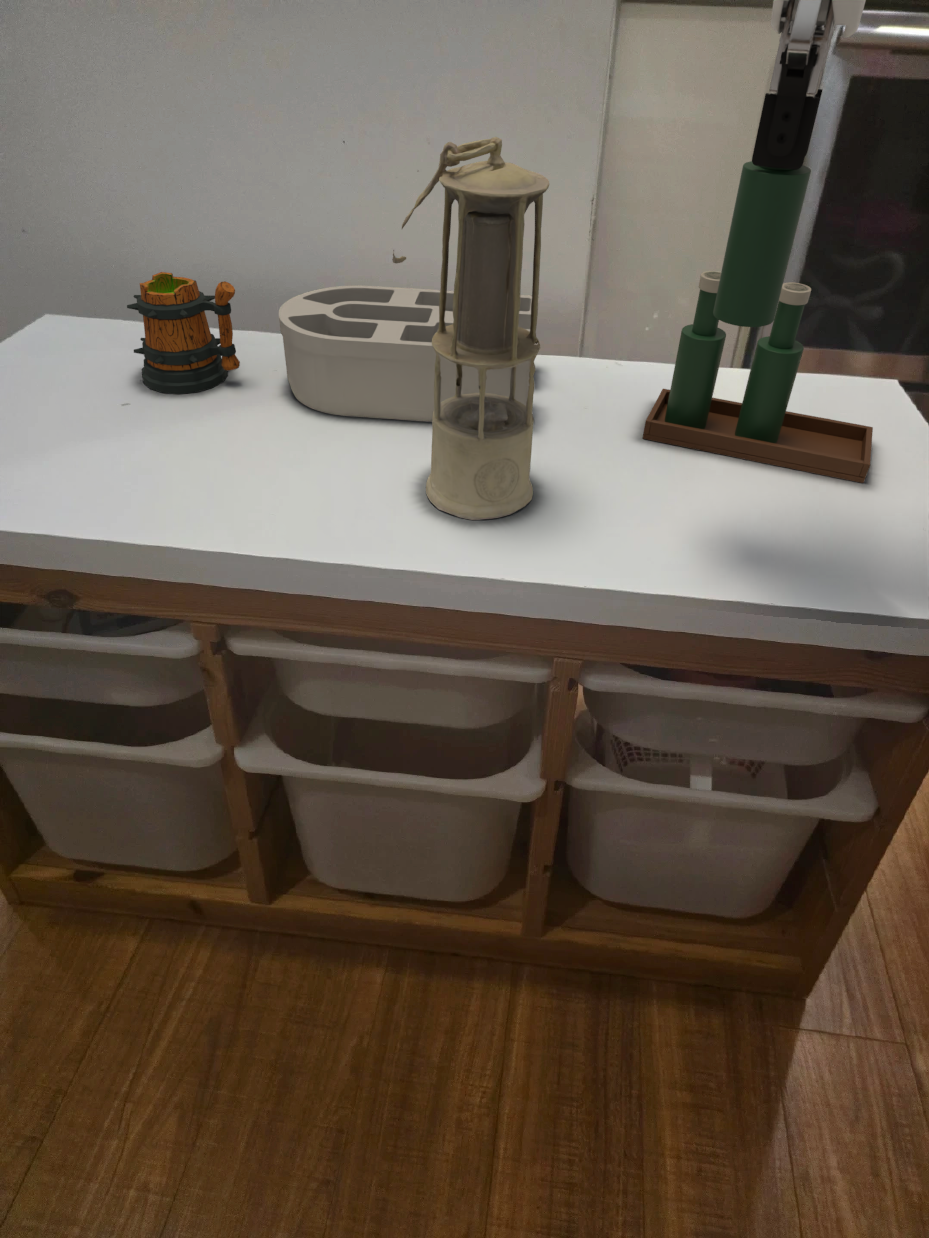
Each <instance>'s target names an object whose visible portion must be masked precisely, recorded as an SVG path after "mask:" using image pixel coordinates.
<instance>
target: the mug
mask: <svg viewBox="0 0 929 1238" xmlns="http://www.w3.org/2000/svg"><path fill="white" fill-rule="evenodd" d="M151 277H152V278H151V279H150V280H147V281H145V282H139V289H140V291H139V292H140V294H133V298H134V299H136V302H134V303H129V304H127V305H126V309H129V310H135V311H138V314H140V315H142V320H143V321H142V322H143V329H144V337H140V339H139V340H140V341H141V342H142V344H141V345H142V346H141V347H139V348H135V349H133V353H134V354H139V355H143V357H144V359H143V367H142V368H141V378H142V382H143V384H144V385H145V386H146V387H147V388H148V389H150V390H151V391H155V392H160V393H163V394H173V395H182V394H193V393H199V392H202V391H206V390H210V389H213V388H215V387H217V386H218V385H220V384H222V383H224V381H225V380H226V379H227V378H228V376H229V374H228V371H233V370H234V371H235V370H237V369H238V368H240V366H241V362H240V360H239V358H238V357H237V356H236V353H237V349H236V345H235V343H233V337H234V332H233V331H234V329H233V323H232V318H231V313H232V306H231V302H230V301H231V300H233V298H234V296H235V293H236V289H235V287H234V285H232V283H230V282H228V281H220V282H219V283H217V286H216V287H215V290H214V295H205V294H204V292H203V291H200V289H199V287H198V283H197V281H196V280H195V279H193V278H189V277H184V276H174V275H173V272H167V271H166V272H165V271H160V272H157V273H155V274H152V276H151ZM213 300H214V301H213ZM206 311H210V312H213V313H214V315H217V322H218V334H219V337H215V335H214V334H213V333H212V332H211V329H210V326H209V321H208V318H207V315H206Z"/></svg>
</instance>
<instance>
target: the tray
mask: <svg viewBox="0 0 929 1238" xmlns="http://www.w3.org/2000/svg"><path fill="white" fill-rule="evenodd" d="M669 394H670V389H667V388H662V389H661V391H660V393H659V395H658V397H657V398H656V400H655V402H654V404H653V406H652V408H651V410H650V412H649V414H648V415H647V417H646V419H645V422H644V428H643V434H642V439H643V440H646V441H647V440H648V441H652V442H657V443H662V444H667V445H672V446H677V447H681V448H688V449H691V450H697V451H703V452H706V453H712V454H717V455H721V456H727V457H732V458H736V459H742V460H745V461H752V462H757V463H762V464H766V465H770V466H776V467H782V468H785V469H790V470H791V469H792V470H796V471H801V472H806V473H812V474H816V475H821V476H825V477H830V478H835V479H840V480H846V481H851V482H855V483H860V484H864V483H865V480H866V478H867V476H868V472H869V469H870V467H871V461H872V460H871V459H872V445H873V444H872V443H873V432H874V431H873V430H874V427H873V426H868V425H865V424H858V423H852V422H849V421H848V422H847V421H843V420H836V419H831V418H825V417H821V416H815V415H809V414H802V413H798V412H793V411H787V410H786V413H785V416H784V420H783V423H782V427H781V430H780V434H779V437H778V441H777V442H776V443H770V442H765V441H760V440H754V439H749V438H744V437H739V436H735V430H736V426H737V422H738V418H739V414H740V410H741V406H742V402H739V401H734V400H728V399H722V398H718V397H712V401H711V405H710V410H709V414H708V419H707V423H706V427H705V428H704V429H698V428H693V427H688V426H683V425H677V424H672V423H667V422H665V415H666V410H667V405H668V399H669Z"/></svg>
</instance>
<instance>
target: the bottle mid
mask: <svg viewBox="0 0 929 1238" xmlns="http://www.w3.org/2000/svg"><path fill="white" fill-rule="evenodd" d="M811 291H812V288H811V287H810V286H808V285H806V284H804V283H799V282H783V286H782V290H781V294H780V298H779V302H778V306H777V310H776V314H775V318H774V321H773V322H772V326H771V329H770V330H771V331H770V333H769V335H767V336H763V337H760V338H759V339H758V340H757V341H756V342H757V343H756V346H755V350H754V355H753V359H752V363H751V367H750V370H749V374H748V379H747V383H746V388H745V390H744V395H743V397H742V398H743V399H742V401H741V403H742V406H741V410H740V414H739V418H738V422H737V426H736V430H735V436H739V437H744V438H749V439H754V440H760V441H765V442H770V443H776V442H777V441H778V437H779V434H780V430H781V427H782V423H783V420H784V416H785V413H786V411H787V409H788V406H789V402H790V398H791V395H792V391H793V387H794V384H795V381H796V378H797V374H798V370H799V367H800V364H801V360H802V356H803V352H804V349H805V348H804V345H803V344H802V343H801V342H799V341H798V340H796V338H797V335H798V332H799V327H800V324H801V320H802V316H803V314H804V309H805V306H806V305H807V304H808V303H809V299H810V296H811V293H812V292H811Z"/></svg>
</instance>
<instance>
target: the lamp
mask: <svg viewBox="0 0 929 1238" xmlns="http://www.w3.org/2000/svg"><path fill="white" fill-rule="evenodd" d="M502 148H503V139H502V138H500V137H498V136H494V137H491V138H484V139H479V140H478V139H477V140H474V141H469V142H465V143H462V144H459V145H457V144H456V143H455V142H452V141H448V142H446V143H445V144H444V145H443V148H442V150H441V152H440V154H439V156H440V157H439V163H438V168H437V169H436V171H435V173H434V175H433V177H432V178H431V180H430V182H429V183H428V184H427V185H426V187H425V188H424V190H422V191H421V193H420V194H419V195H418V197H417V199H416V200H415V204H414V206H413V208H412V209H410V211H409V213H408V214H407V215H406V216H405V218H404V220H403V222H402V224H401V230H403V229H404V227H406V226H407V225H406V224H407V223H408V222H409V221H410V218H411V217H412V215H413V214H414V211H415V210H416V209H417V208H418V207H419V206H420V205H421V204H422V203H423V202H424V200H425V199H426V198H427V197H428V196H429V195H430V194H431V192H432V191H433V190H434V188H435V186H436V185H437V184H438V183H440V184H441V185H442V187H443V188H444V205H443V207H444V209H443V222H442V239H441V240H442V249H441V257H442V259H441V268H440V269H441V270H440V289H439V290H440V297H439V329H438V331H437V332H436V333H435V335H434V336H433V338H432V346H433V348H434V350H435V352H436V360H435V379H434V412H433V419H432V422H431V424H432V428H431V429H432V431H431V433H432V434H431V457H430V473H429V475H428V477H427V480H426V483H425V495H426V496H427V498H428V500H429V502H431V503H432V504H433V505H434V507H435V508H436V509H437V510H439V511H441V512H444V513H447V514H449V515H452V516H455V517H458V518H461V519H466V520H471V521H479V520H491V519H499V518H503V517H506V516H510V515H512V514H514V513H516V512H518V511H520V510H521V509H523V508H525V507H526V506H527V505H528V504H529V503H530V502H531V501H532V500H533V496H534V488H533V485H532V481H531V480H530V474H531V463H532V462H531V460H532V450H533V433H534V424H535V423H534V422H535V419H534V415H533V407H534V394H535V379H534V375H535V373H536V364H535V360H536V359H537V356H538V354H539V352H540V350H541V344H540V340H539V338H538V337H537V324H538V316H537V315H539V304H538V296H540V295H539V293H540V273H541V272H540V271H541V270H540V269H541V254H542V253H541V250H542V220H543V207H544V206H543V205H544V203H543V202H544V193H546V192H547V190H548V189H549V187H550V180H549V179H548V178H547V177H546V176H544V175H543V174H540V173H538V172H536V171H532V170H529V169H526V168H523V167H521V166H519V165H517V164H516V163H513V162H506V161H505V160H504V159H503V157H502V156H501V153H502ZM488 154H489V156H488V159H487V160H482V161H481V160H480V161H476V162H472V163H468V164H465V165H461V166H458V165H460V163H461V162H466V161H469V160H473V159H476V158H479V157H482V156H485V155H488ZM455 166H457V167H455ZM447 167H453V168H450V169H448V170H447ZM455 201H456V202H457V205H458V207H457V211H458V212H457V218H458V219H457V220H458V232H457V248H456V265H455V267H456V268H455V277H454V284H453V291H454V295H453V319H454V321H453V324H452V325H449V326H445V321H444V318H445V308H446V295H447V290H448V278H449V277H448V276H449V255H450V254H449V252H450V251H449V250H450V237H451V229H452V228H451V227H452V225H451V224H452V210H453V209H452V207H453V204H454V202H455ZM533 203H534V239H533V240H534V241H533V260H532V288H531V295H532V302H531V327H530V332H529V331H528V330H526V329H524V328H522V327H518V324H519V311H520V295H521V292H522V291H521V290H522V289H521V288H522V287H521V285H522V272H523V271H522V268H523V257H524V256H523V255H524V253H523V252H524V237H525V236H524V234H525V214H526V213H527V210H528V209H529V207H530V205H531V204H533ZM391 259H392V264H397V265H398V264H402V263H404V262H405V261H406V260H407V256H406V255H405V256H403V255H402V256H400V257H396V255H395V249H393V251H392V258H391ZM534 344H535V345H534ZM441 356H442V357H443V358H446V359H447V360H449V361H451V362H453V363H456V391H455V396H454V397H451V398H449V399H446V400H444V401H443V402H440V398H441V376H440V374H441V372H440V367H441V366H440V365H441V364H440V361H441V359H440V357H441ZM525 361H529V369H530V372H529V386H528V387H529V390H528V397H527V401H526V406H525V405H524V404H522V403H521V402H519V401H517V400H515V399H514V396H515V387H516V367H517V365H519V364H521V363H523V362H525ZM462 365H465V366H468V367H474V368H476V369H477V370H478V374H479V375H478V379H479V383H478V384H479V393H471V394H463V395H461V389H462ZM508 367H510V368H511V379H510V396H509V397H506V396H502V395H497V394H491V393H485V387H486V379H487V376H486V372H487V370H491V369H503V368H508Z"/></svg>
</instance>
